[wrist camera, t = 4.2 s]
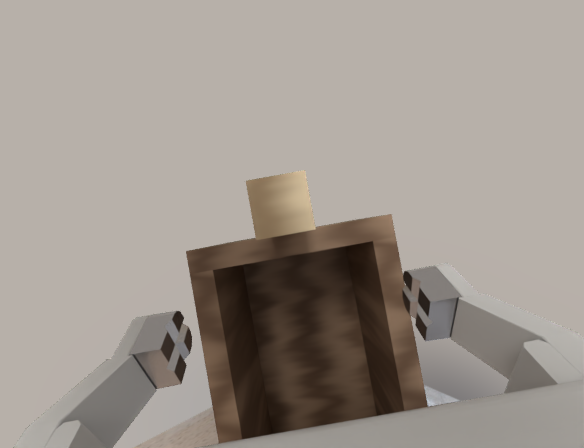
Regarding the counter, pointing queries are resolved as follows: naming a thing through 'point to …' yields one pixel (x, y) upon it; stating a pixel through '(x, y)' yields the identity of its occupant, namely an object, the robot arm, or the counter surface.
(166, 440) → the counter surface
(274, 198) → the tan wooden bar
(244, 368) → the tall brown box
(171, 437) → the counter surface
